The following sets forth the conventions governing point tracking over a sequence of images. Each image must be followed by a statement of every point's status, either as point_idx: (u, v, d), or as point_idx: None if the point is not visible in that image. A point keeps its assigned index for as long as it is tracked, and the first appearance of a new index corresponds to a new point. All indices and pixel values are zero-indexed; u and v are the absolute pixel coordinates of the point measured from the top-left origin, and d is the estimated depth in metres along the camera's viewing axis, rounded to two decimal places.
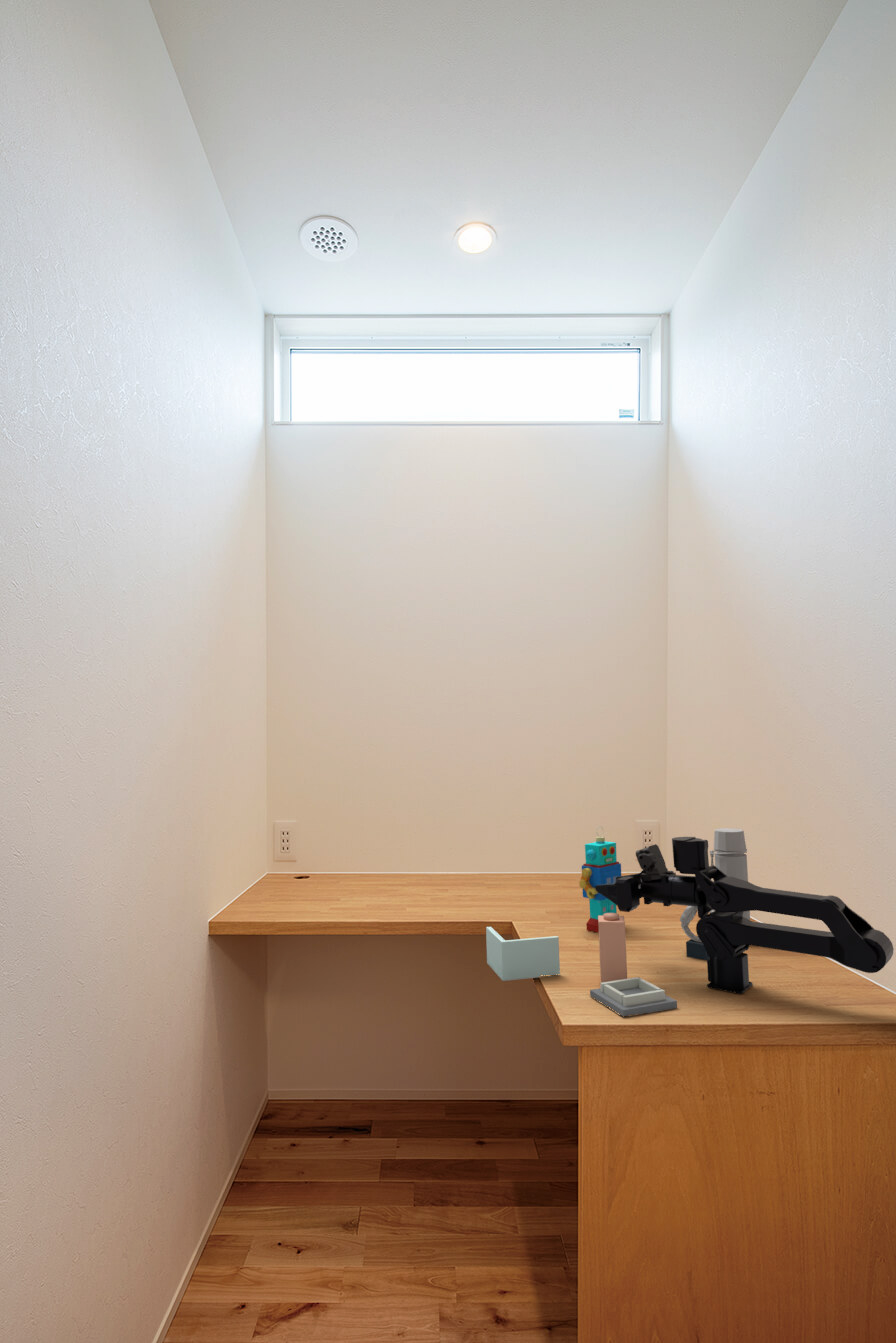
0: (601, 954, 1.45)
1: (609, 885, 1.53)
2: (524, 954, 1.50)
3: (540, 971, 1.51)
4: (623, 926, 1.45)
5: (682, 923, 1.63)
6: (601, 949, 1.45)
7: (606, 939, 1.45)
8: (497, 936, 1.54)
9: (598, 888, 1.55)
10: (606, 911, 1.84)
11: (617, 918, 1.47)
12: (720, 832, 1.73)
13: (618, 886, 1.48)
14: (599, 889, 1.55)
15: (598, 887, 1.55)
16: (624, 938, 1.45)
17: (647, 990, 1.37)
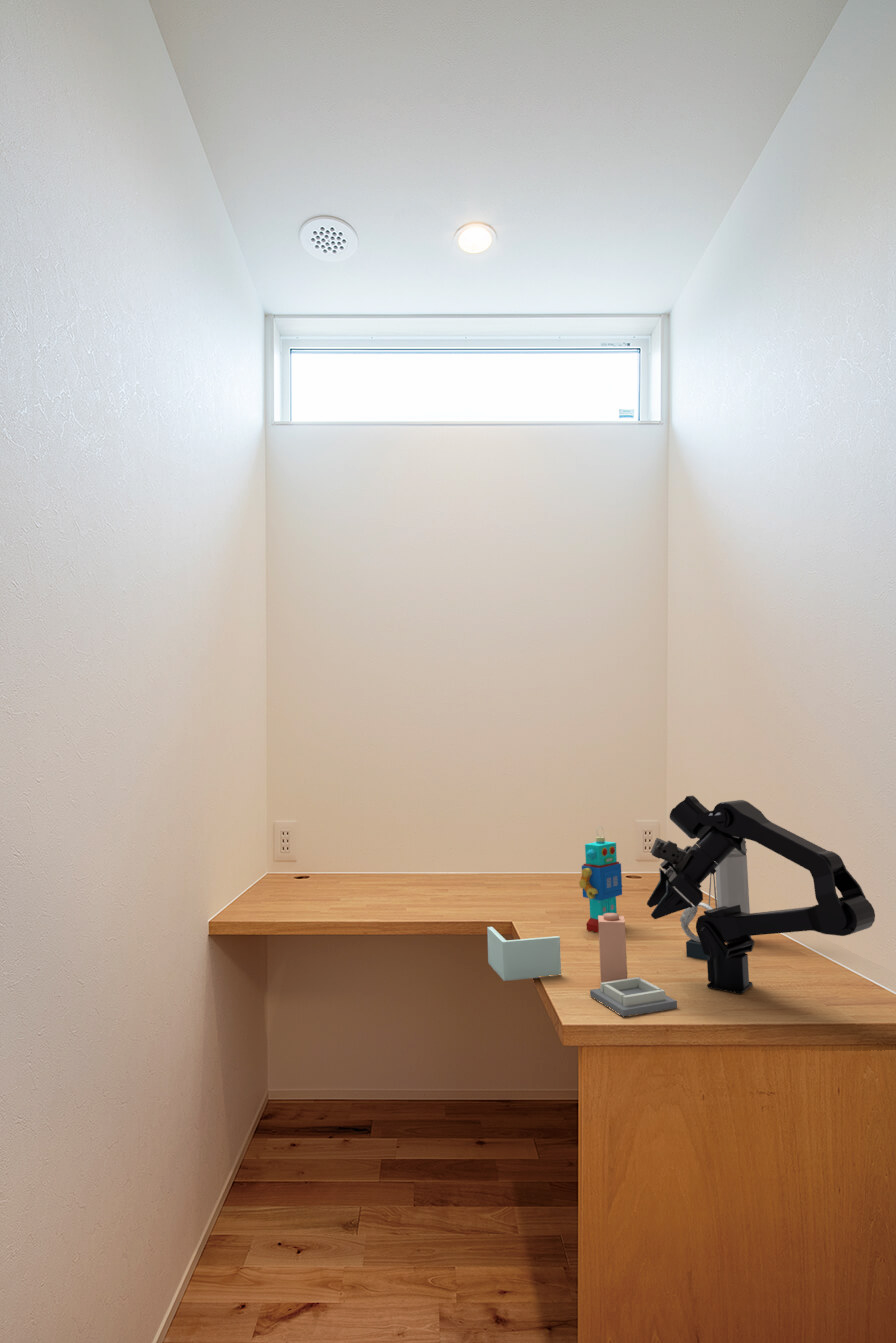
0: (601, 954, 1.45)
1: (663, 899, 1.40)
2: (525, 954, 1.50)
3: (541, 971, 1.51)
4: (623, 926, 1.45)
5: (682, 923, 1.63)
6: (601, 949, 1.45)
7: (606, 939, 1.45)
8: (498, 936, 1.54)
9: (656, 914, 1.41)
10: (606, 911, 1.84)
11: (617, 918, 1.47)
12: None
13: (677, 886, 1.37)
14: (657, 914, 1.41)
15: (655, 913, 1.41)
16: (624, 938, 1.45)
17: (647, 990, 1.37)
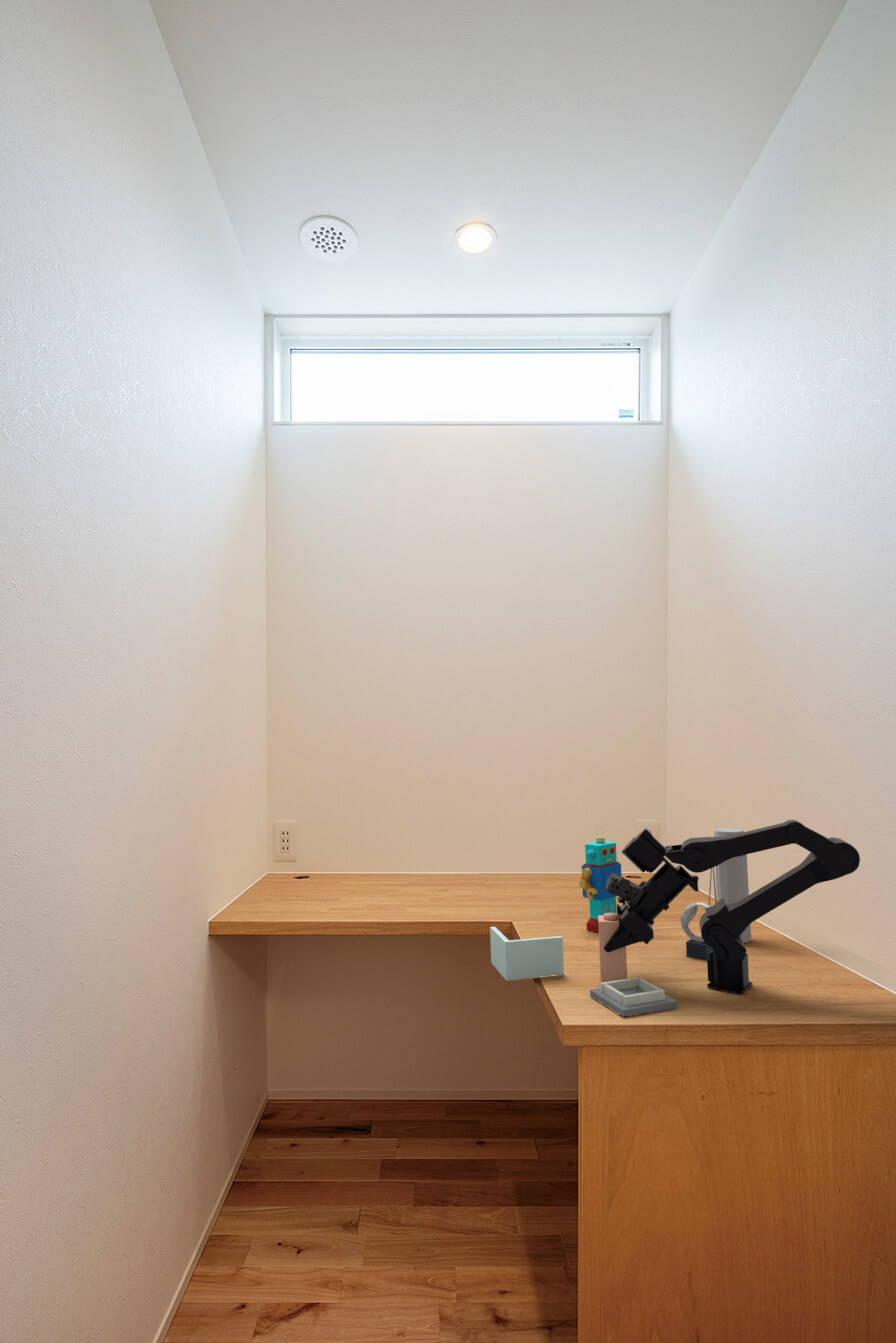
0: (601, 954, 1.45)
1: (615, 933, 1.43)
2: (528, 954, 1.50)
3: (544, 971, 1.50)
4: None
5: (682, 923, 1.63)
6: (601, 949, 1.45)
7: (606, 939, 1.45)
8: (501, 936, 1.54)
9: (608, 947, 1.44)
10: (606, 911, 1.84)
11: (617, 918, 1.47)
12: (720, 832, 1.73)
13: (628, 924, 1.38)
14: (610, 948, 1.44)
15: (607, 947, 1.44)
16: None
17: (647, 990, 1.37)
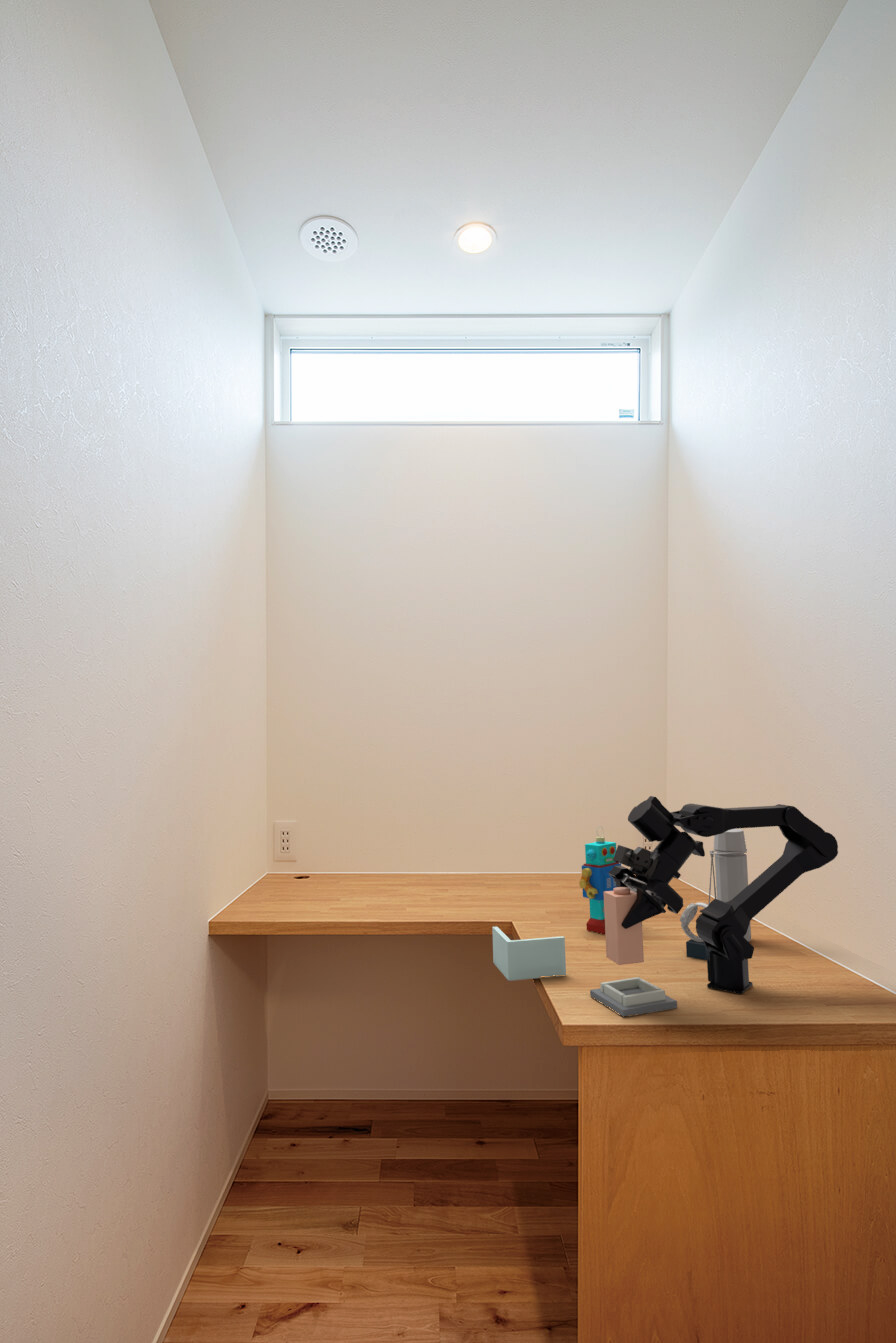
0: (618, 931, 1.36)
1: (636, 907, 1.35)
2: (530, 954, 1.50)
3: (546, 971, 1.50)
4: None
5: (682, 923, 1.63)
6: (618, 926, 1.36)
7: (623, 915, 1.36)
8: (503, 936, 1.54)
9: (627, 923, 1.35)
10: None
11: (629, 891, 1.38)
12: None
13: (661, 894, 1.31)
14: (629, 923, 1.35)
15: (626, 922, 1.35)
16: None
17: (647, 990, 1.37)
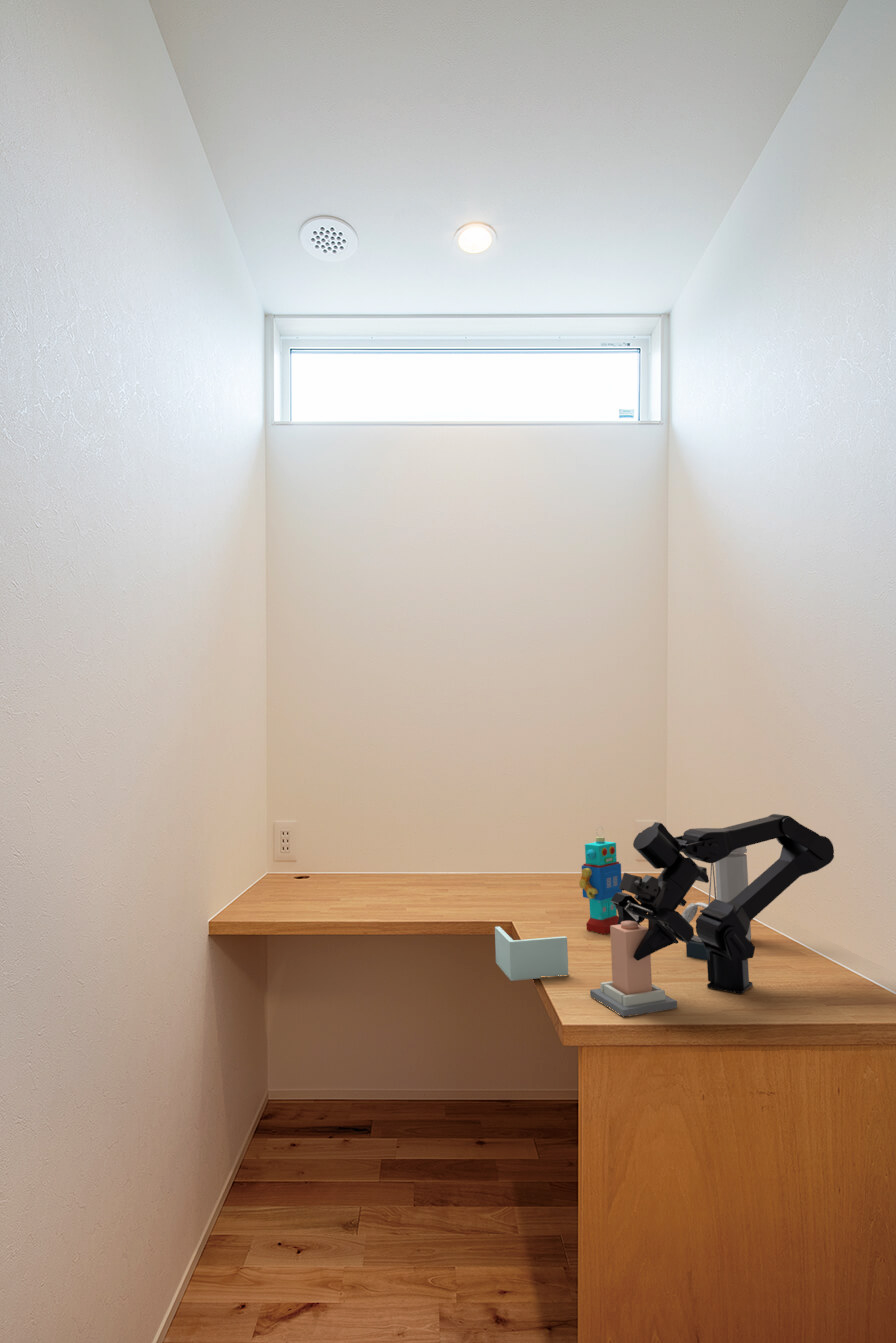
0: (628, 967, 1.33)
1: (648, 938, 1.32)
2: (532, 954, 1.50)
3: (548, 971, 1.50)
4: None
5: None
6: (628, 962, 1.33)
7: (633, 950, 1.34)
8: (505, 936, 1.54)
9: (639, 955, 1.32)
10: (606, 911, 1.84)
11: (637, 926, 1.36)
12: None
13: (673, 924, 1.29)
14: (641, 955, 1.32)
15: (638, 954, 1.32)
16: None
17: None
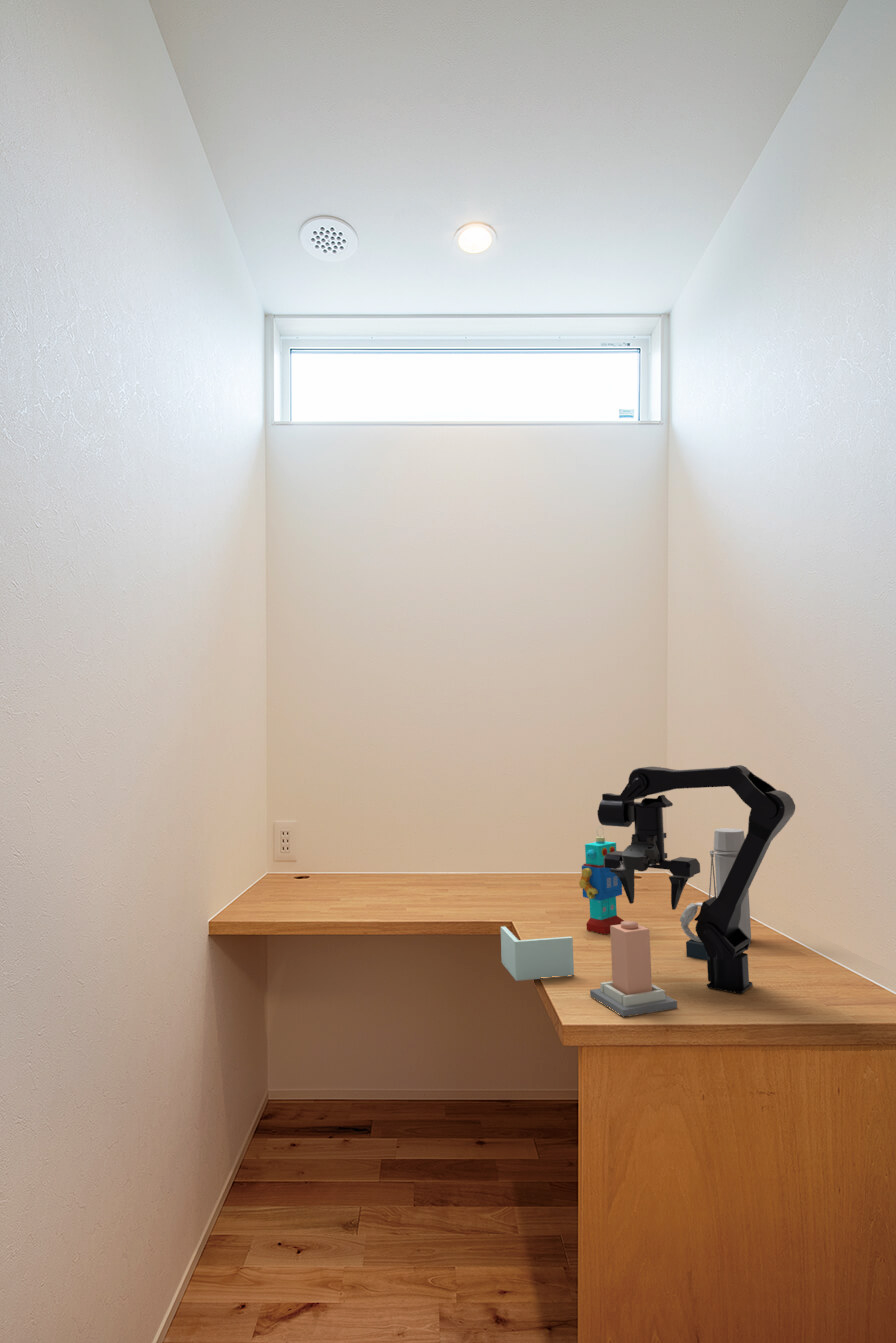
0: (628, 967, 1.33)
1: (677, 890, 1.48)
2: (538, 954, 1.50)
3: (554, 971, 1.50)
4: (648, 933, 1.35)
5: (682, 923, 1.63)
6: (628, 962, 1.33)
7: (633, 950, 1.34)
8: (511, 936, 1.53)
9: (675, 905, 1.50)
10: (606, 911, 1.84)
11: (637, 926, 1.36)
12: (720, 832, 1.73)
13: (691, 873, 1.46)
14: (676, 904, 1.50)
15: (675, 905, 1.49)
16: (649, 946, 1.35)
17: None
